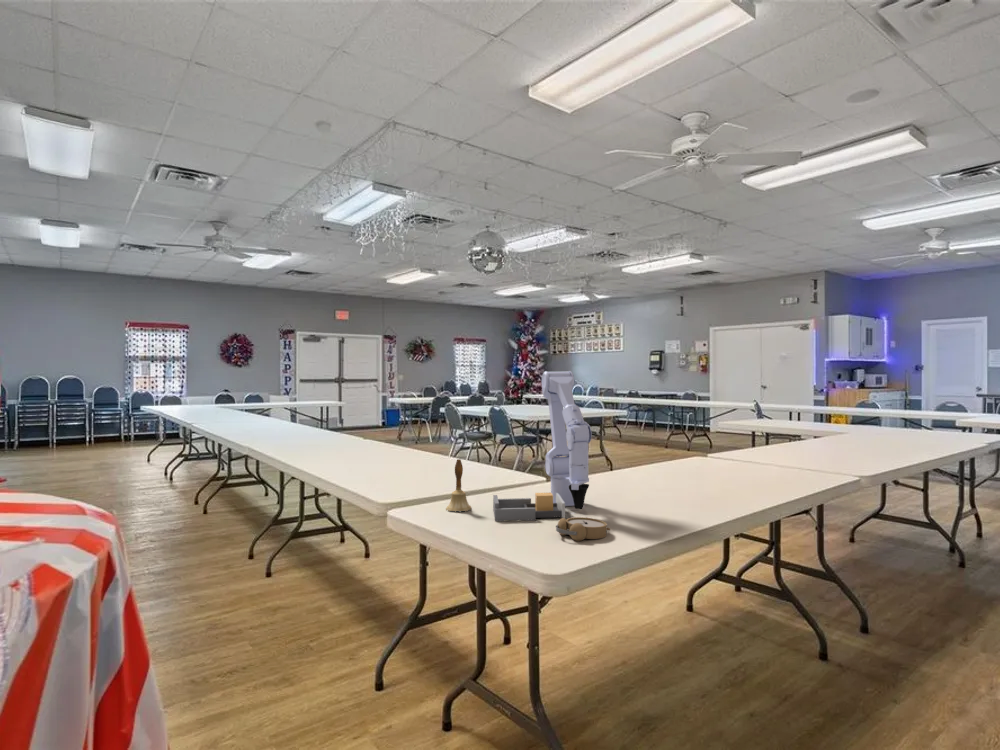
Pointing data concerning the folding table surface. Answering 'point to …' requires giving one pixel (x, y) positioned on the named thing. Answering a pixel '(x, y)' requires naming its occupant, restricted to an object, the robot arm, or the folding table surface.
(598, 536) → the alarm clock
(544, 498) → the block
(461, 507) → the hand bell
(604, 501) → the folding table surface
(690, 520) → the folding table surface
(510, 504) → the frame
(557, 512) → the tray
